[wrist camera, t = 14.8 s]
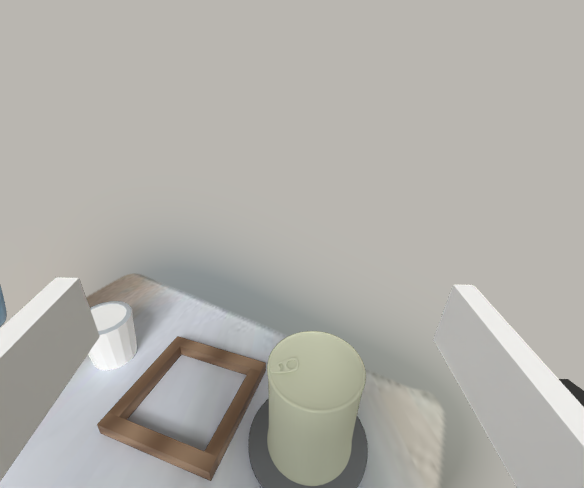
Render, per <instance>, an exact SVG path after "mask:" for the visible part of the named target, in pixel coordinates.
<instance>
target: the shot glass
mask: <svg viewBox="0 0 584 488" xmlns="http://www.w3.org/2000/svg"><path fill="white" fill-rule="evenodd" d="M90 310H91V313H92V316H93V318H94V321H95V324H96V327H97V330H98V333H99V335H100V337H99V339H98V340H97V341H96V343H95V344H94V346H93V347H92V349H91V350H90V352H89V353H88V355H89V357H90V359H91V360H92V362H93V364H94V366H95V367H96V368H98V369H100V370H113V369H117V368H119V367H121V366H123V365H125V364H127V363H128V362H129V361H130V360H132V359H133V357H134V356H135V354H136V352H137V342H136V335H135V328H134V321H133V314H132V308H131V307H130V306H129V304H127V303H124V302H121V301H110V302H105V303H100V304H98V305H95V306H92V307H90Z"/></svg>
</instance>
